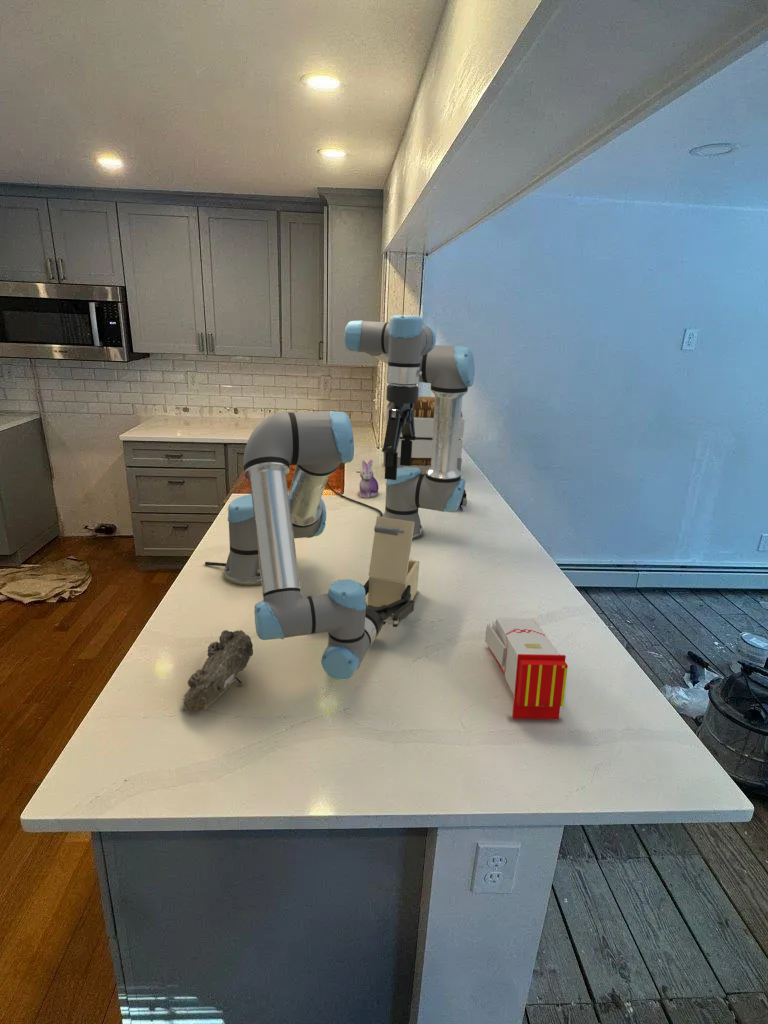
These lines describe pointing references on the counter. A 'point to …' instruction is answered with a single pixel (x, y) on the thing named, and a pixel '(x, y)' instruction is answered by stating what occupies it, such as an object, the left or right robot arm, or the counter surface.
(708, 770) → the counter surface
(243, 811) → the counter surface
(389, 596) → the chest
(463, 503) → the figurine character
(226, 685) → the fossil
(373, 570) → the lid
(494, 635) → the toy
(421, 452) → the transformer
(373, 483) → the figurine
